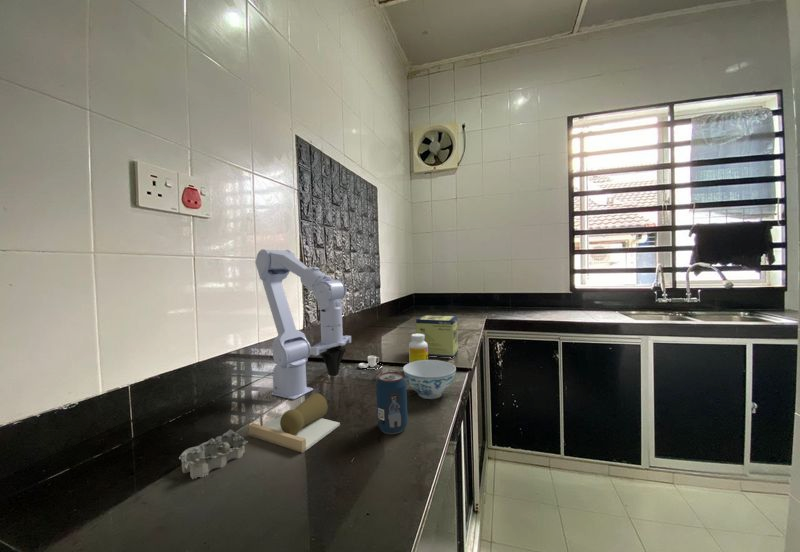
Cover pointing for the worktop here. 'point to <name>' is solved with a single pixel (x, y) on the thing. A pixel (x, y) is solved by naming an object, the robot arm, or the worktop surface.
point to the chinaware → (429, 377)
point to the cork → (304, 414)
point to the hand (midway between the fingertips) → (333, 375)
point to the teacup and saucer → (369, 362)
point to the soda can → (391, 402)
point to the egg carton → (220, 447)
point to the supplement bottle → (418, 348)
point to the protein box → (439, 334)
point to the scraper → (297, 441)
